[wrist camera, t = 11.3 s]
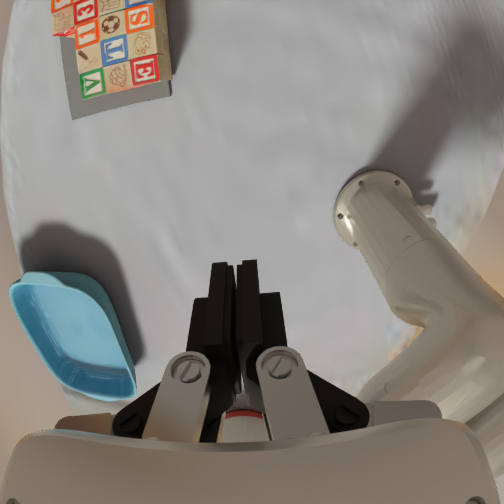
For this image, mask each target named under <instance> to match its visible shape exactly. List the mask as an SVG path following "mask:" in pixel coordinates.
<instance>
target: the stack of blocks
mask: <svg viewBox="0 0 504 504" xmlns="http://www.w3.org/2000/svg"><path fill="white" fill-rule="evenodd" d="M51 13H52V14H51V21H52V35H53V36H65V37H71V38H75V48H76V57H77V65H78V73H79V75H80V77H79V79H80V85H81V92H82V99H83V100H85V99H89V98H93V97H97V96H101V95H105V94H109V93H113V92H117V91H123V90H127V89H131V88H136V87H140V86H144V85H148V84H152V83H157V82H162V81H167V80H172V79H173V77H172V68H171V58H170V50H169V39H168V28H167V16H166V3H165V0H51Z"/></svg>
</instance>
